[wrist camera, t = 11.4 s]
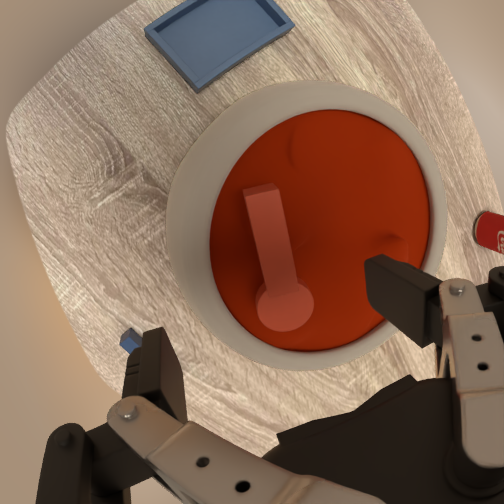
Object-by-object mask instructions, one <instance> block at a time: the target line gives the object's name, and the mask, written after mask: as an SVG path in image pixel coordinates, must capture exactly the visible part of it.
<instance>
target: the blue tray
mask: <svg viewBox="0 0 504 504" xmlns="http://www.w3.org/2000/svg"><path fill="white" fill-rule="evenodd" d="M294 26H295V24H294V23H293V22H292V21H291V19H290V18H289V17H288V16H287V15H286V14H285V13H284V12H283V10H282V9H281V8H280V7H279V6H278V5H277V4H276V3H275V2H274V1H273V0H186V1H185V2H183V3H181V4H180V5H178V6H176V7H175V8H173V9H172V10H170V11H169V12H167V13H166V14H164V15H163V16H161V17H160V18H158V19H157V20H155V21H154V22H152V23H151V24H149V25H148V26H146V27H145V28H144V32H145V37H146V38H147V39H148V40H149V41H150V42H151V43H152V44H153V45H154V46H155V47H156V48H157V49H158V50H159V52H160V53H161V54H162V55H163V56H164V57H165V58H166V59H167V60H168V61H169V63H170V64H171V65H172V66H173V67H174V68H175V69H176V70H177V71H178V73H179V74H180V75H181V76H182V77H183V78H184V79H185V80H186V82H187V83H188V84H189V85H190V86H191V87H192V88H193V89H194V91H195V92H196V93H199V92H200V91H201V90H203V89H204V88H205V87H207V86H208V85H209V84H211V83H212V82H214V81H215V80H216V79H218V78H219V77H220V76H222V75H223V74H225V73H226V72H228V71H229V70H230V69H232V68H233V67H235V66H236V65H238V64H239V63H241V62H242V61H244V60H245V59H247V58H248V57H250V56H251V55H253V54H254V53H256V52H257V51H259V50H260V49H262V48H264V47H265V46H267V45H268V44H270V43H272V42H273V41H275V40H277V39H278V38H280V37H282V36H283V35H285V34H287V33H288V32H289V31H290V30H291V29H292V28H293V27H294Z"/></svg>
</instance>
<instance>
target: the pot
mask: <svg viewBox="0 0 504 504" xmlns="http://www.w3.org/2000/svg"><path fill="white" fill-rule="evenodd" d="M269 183H273V184H274V185H275V186H276V187H277V188H278V189H279V192H280V196H281V201H282V206H283V210H284V215H285V220H286V225H287V230H288V235H289V240H290V245H291V250H292V255H293V260H294V265H295V270H296V276H297V277H299V278H300V279H302V280H303V281H304V282H305V283H306V284H307V286H308V288H309V290H310V292H311V294H312V296H313V299H314V308H313V312H312V314H311V316H310V318H309V319H308V320H307V321H306V322H305V323H304V324H303V325H302V326H300V327H299V328H297V329H294V330H291V331H285V332H280V331H275V330H272V329H269V328H268V327H266V326H265V325H264V324H263V323H262V322H261V321H260V319H259V317H258V314H257V309H256V303H255V299H256V294H257V291H258V289H259V288H260V286H261V285H262V284H263V283H264V282H265V281H264V277H263V273H262V269H261V265H260V261H259V256H258V252H257V248H256V244H255V240H254V236H253V231H252V227H251V223H250V219H249V215H248V211H247V207H246V202H245V198H244V194H243V190H244V189H248V188H252V187H256V186H260V185H264V184H269ZM447 222H448V211H447V198H446V191H445V186H444V181H443V178H442V174H441V171H440V168H439V165H438V163H437V160H436V158H435V156H434V154H433V152H432V150H431V148H430V146H429V144H428V143H427V141H426V140H425V138H424V137H423V135H422V134H421V132H420V131H419V130H418V129H417V127H416V126H415V125H414V124H413V123H412V122H411V121H410V120H409V119H408V118H407V117H406V116H405V115H404V114H403V113H402V112H401V111H399V110H398V109H397V108H395V107H394V106H393V105H391V104H390V103H388V102H387V101H385V100H383V99H381V98H380V97H378V96H376V95H374V94H372V93H370V92H367V91H365V90H362V89H359V88H357V87H354V86H350V85H347V84H342V83H338V82H332V81H324V80H297V81H289V82H283V83H278V84H274V85H270V86H267V87H264V88H261V89H259V90H256V91H253V92H251V93H249V94H247V95H245V96H243V97H241V98H240V99H238V100H237V101H235V102H234V103H233V104H232V105H230V106H229V107H228V108H227V109H225V110H224V111H223V112H222V113H221V114H220V115H219V116H218V117H217V118H216V119H215V120H214V121H213V122H212V123H211V124H210V125H209V126H208V127H207V128H206V129H205V130H204V132H203V133H202V134H201V135H200V136H199V138H198V139H197V140H196V141H195V143H194V144H193V145H192V147H191V148H190V149H189V151H188V152H187V154H186V155H185V157H184V158H183V160H182V162H181V163H180V165H179V167H178V169H177V171H176V173H175V175H174V178H173V181H172V184H171V188H170V192H169V196H168V202H167V208H166V223H165V227H166V243H167V250H168V255H169V260H170V264H171V267H172V271H173V274H174V277H175V279H176V282H177V284H178V286H179V289H180V291H181V293H182V295H183V296H184V298H185V300H186V302H187V303H188V305H189V307H190V308H191V310H192V311H193V312H194V314H195V315H196V316H197V318H198V319H199V320H200V321H201V323H202V324H203V325H204V326H205V327H206V328H207V329H208V330H209V331H210V332H211V333H212V334H213V335H214V336H215V337H216V338H218V339H219V340H220V341H221V342H222V343H224V344H225V345H226V346H228V347H229V348H231V349H232V350H234V351H235V352H237V353H239V354H240V355H242V356H244V357H246V358H248V359H250V360H252V361H254V362H257V363H259V364H262V365H265V366H268V367H272V368H276V369H281V370H288V371H315V370H323V369H328V368H332V367H336V366H340V365H343V364H346V363H348V362H351V361H353V360H356V359H358V358H360V357H362V356H364V355H366V354H368V353H369V352H371V351H373V350H374V349H376V348H377V347H379V346H380V345H382V344H383V343H385V342H386V341H387V340H388V339H390V338H391V337H392V336H393V335H394V334H395V333H396V332H398V331H399V329H398V328H396V327H395V326H394V325H393V324H391V323H390V322H389V321H388V320H387V319H385V318H384V317H383V316H382V315H380V314H379V313H378V312H377V311H375V310H374V309H373V308H372V307H371V305H370V303H369V301H368V298H367V292H366V281H365V271H364V262H365V260H366V259H369V258H371V257H374V256H377V255H379V254H385V255H386V256H388V257H390V258H392V259H394V260H396V261H401V262H406V263H409V264H411V265H413V266H415V267H416V268H419V269H421V270H423V272H426V273H428V274H430V275H432V276H434V277H435V276H436V274H437V271H438V268H439V265H440V262H441V259H442V255H443V251H444V247H445V241H446V234H447Z"/></svg>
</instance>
